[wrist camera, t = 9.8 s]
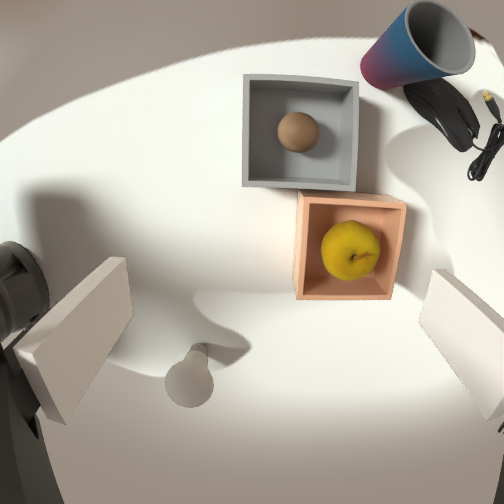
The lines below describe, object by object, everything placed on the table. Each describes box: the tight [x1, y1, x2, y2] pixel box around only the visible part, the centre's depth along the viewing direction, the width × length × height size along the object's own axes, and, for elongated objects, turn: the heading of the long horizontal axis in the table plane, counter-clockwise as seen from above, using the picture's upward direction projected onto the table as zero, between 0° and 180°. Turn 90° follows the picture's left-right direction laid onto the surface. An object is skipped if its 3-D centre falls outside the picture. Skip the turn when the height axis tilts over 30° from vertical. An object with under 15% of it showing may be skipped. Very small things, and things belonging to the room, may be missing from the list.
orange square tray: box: [293, 189, 407, 300], centre depth 33 cm, size 11×11×6 cm
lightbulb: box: [165, 344, 214, 408], centre depth 37 cm, size 6×6×11 cm
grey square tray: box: [242, 74, 359, 192], centre depth 30 cm, size 11×11×6 cm
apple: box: [321, 220, 380, 281], centre depth 32 cm, size 6×6×8 cm
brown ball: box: [278, 112, 320, 153], centre depth 30 cm, size 4×4×4 cm
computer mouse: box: [404, 77, 504, 181], centre depth 28 cm, size 12×17×4 cm
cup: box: [360, 0, 475, 89], centre depth 22 cm, size 7×7×15 cm
